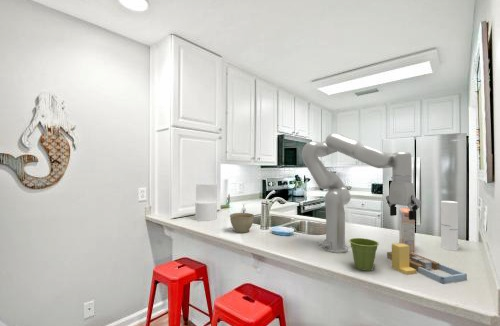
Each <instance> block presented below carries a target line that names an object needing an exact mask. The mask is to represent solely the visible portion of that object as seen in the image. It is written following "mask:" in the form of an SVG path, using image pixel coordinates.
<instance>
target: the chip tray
mask: <svg viewBox="0 0 500 326" xmlns="http://www.w3.org/2000/svg"><path fill="white" fill-rule="evenodd" d="M439 271H442V272H444V273H447V274H449V275H443V276H442V275H440V274H438V273H435V272H433V271H432V270H431V271H428V270H426V269H424V268H421V267H418V272H417V273H418V274H421V275H423V276H425V277H426V278H430V279H431V280H434V281H435V282H438V283H439V284H442V285H443V284H449V283H450V284H451V283H457V282H463V281H464V282H465V281H467V280H468V273H465V272H462V271H460V270H457V269H455V268H452V267H450V266H447V265H444V264H442V263H439Z"/></svg>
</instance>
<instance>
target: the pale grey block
mask: <svg viewBox="0 0 500 326" xmlns="http://www.w3.org/2000/svg"><path fill="white" fill-rule="evenodd" d="M419 260H423V259H422V258H420V257H417V256H415V257H411V261H414V262H416V263H418V264H419Z"/></svg>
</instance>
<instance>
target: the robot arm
mask: <svg viewBox="0 0 500 326" xmlns="http://www.w3.org/2000/svg"><path fill="white" fill-rule="evenodd" d="M301 151H302V152H301V159H302V162H303V163H304V165H305V167H306V169H307V170H308V171H309V172H310V175H311V176H312V178H313V180H314V181H315V184H316V185H317V187H318V188H320V189H322V190H328V191H327V192H326V194H325V196H324V205H325V239H324V240H323V241H319V242H317V245H318V247H322V248H323V249H324V250H325V251H326V252H331V253H336V254H337V253H338V254H343V253H347V252H349V247H347V245H346V210H345V205H347V204H349V203H350V201H351V196H352V195H351V193H350V192H349V189H348V188H347V186H346V185H345V184H344V182H343V181H342V178H341V177H340V176H339V175H338V174H337V173H336V172H333V171H329V170H328V169H327V168H326V166H325V164H324V163H323V162H322V161H321V160H320V159H319V158H323V157H326V156H329V155H331V154H334V153H337V152H338V153H340V154H343V155H345V156H348V157H350V158H352V159H354V160H357V161H359V162H360V163H361V162H362V163H363V164H366V165H368V166H371V167H373V168H376V169H388V168H389V169H390V168H391V170H392V171H391V173H392V176H391V177H390V179H391V182H390V184H389V191H388V195H386V196H385V200H386V202H387V205H388V207H389V216H391V217H392V216H394V217H395V216H397V206H398V205H399V206H404V207H405V206H406V207H408V209H410V211H409V220H415V221H416V219H417V211H418V209H420V208H421V207H420V206H421V204H422V200H420V199H418V198H417V197H416V192H415V186H414V183H413V179H412V178H413V177H412V176H413V175H412V174H413V173H412V169H413V168H412V154H411V152H407V151H401V152H400V151H398V152H393V153H392V152H383V151H380V150H377V149H374V148H372V147H369V146H367V145H365V144H362V143H361V141H357V140H356V139H352V138H351V137H347V136H344V135H343V134H339V133H334V132H333V133H330V134H328V135H327V136H326V138H325V140H324V141H309V142H307V143H306V144H305V145H304V146H303V148H302V150H301ZM396 205H397V206H396Z"/></svg>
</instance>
